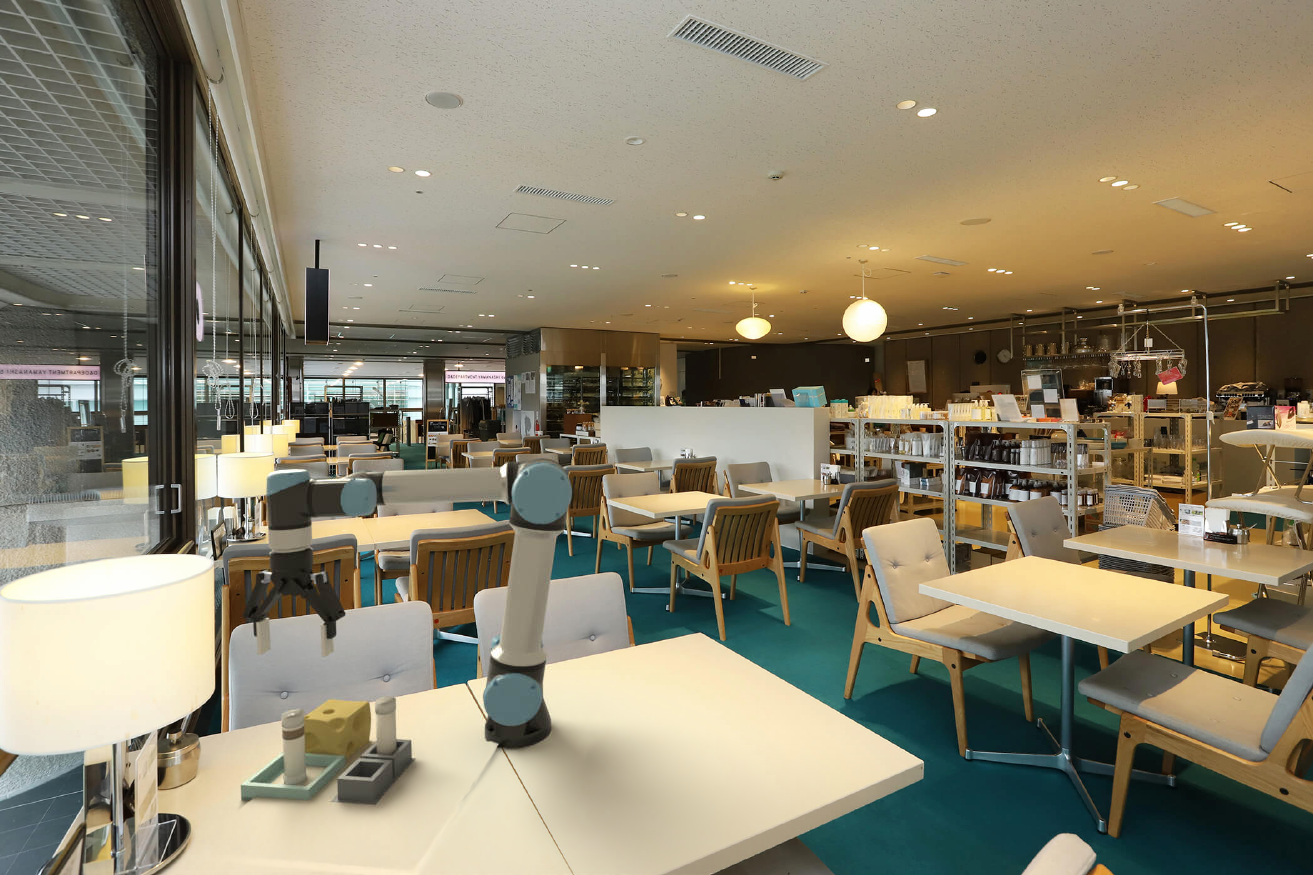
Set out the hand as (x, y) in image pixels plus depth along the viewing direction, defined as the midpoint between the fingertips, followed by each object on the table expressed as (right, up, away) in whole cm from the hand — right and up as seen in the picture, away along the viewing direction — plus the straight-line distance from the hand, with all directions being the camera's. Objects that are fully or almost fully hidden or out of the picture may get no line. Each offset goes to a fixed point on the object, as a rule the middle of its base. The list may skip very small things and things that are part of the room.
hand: (295, 653), depth 131 cm
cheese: (+2, -26, +13) cm, 29 cm away
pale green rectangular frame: (-1, -27, +1) cm, 27 cm away
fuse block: (+15, -27, +1) cm, 31 cm away
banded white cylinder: (-1, -26, +1) cm, 26 cm away
